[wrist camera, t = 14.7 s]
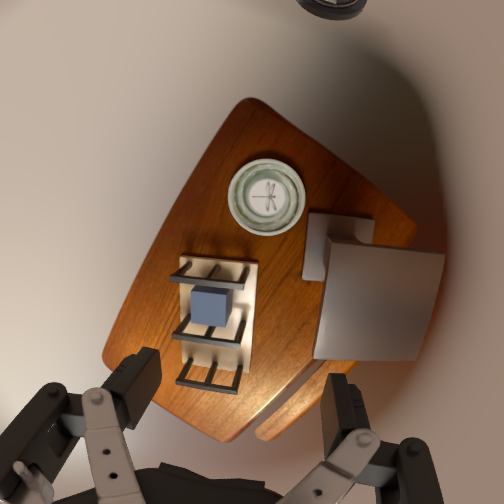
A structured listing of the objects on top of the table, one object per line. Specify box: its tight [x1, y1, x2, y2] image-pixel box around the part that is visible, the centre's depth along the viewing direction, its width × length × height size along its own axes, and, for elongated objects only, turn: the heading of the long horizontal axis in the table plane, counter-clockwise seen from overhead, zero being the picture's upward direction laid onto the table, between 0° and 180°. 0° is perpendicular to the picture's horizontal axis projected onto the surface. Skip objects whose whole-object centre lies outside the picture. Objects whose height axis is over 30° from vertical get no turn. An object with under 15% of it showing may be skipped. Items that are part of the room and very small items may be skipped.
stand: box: [301, 212, 445, 361], centre depth 29 cm, size 9×9×20 cm
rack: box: [170, 255, 259, 395], centre depth 40 cm, size 18×11×7 cm, turn 176°
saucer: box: [228, 159, 306, 236], centre depth 37 cm, size 10×10×2 cm
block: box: [191, 285, 233, 328], centre depth 39 cm, size 5×5×5 cm
